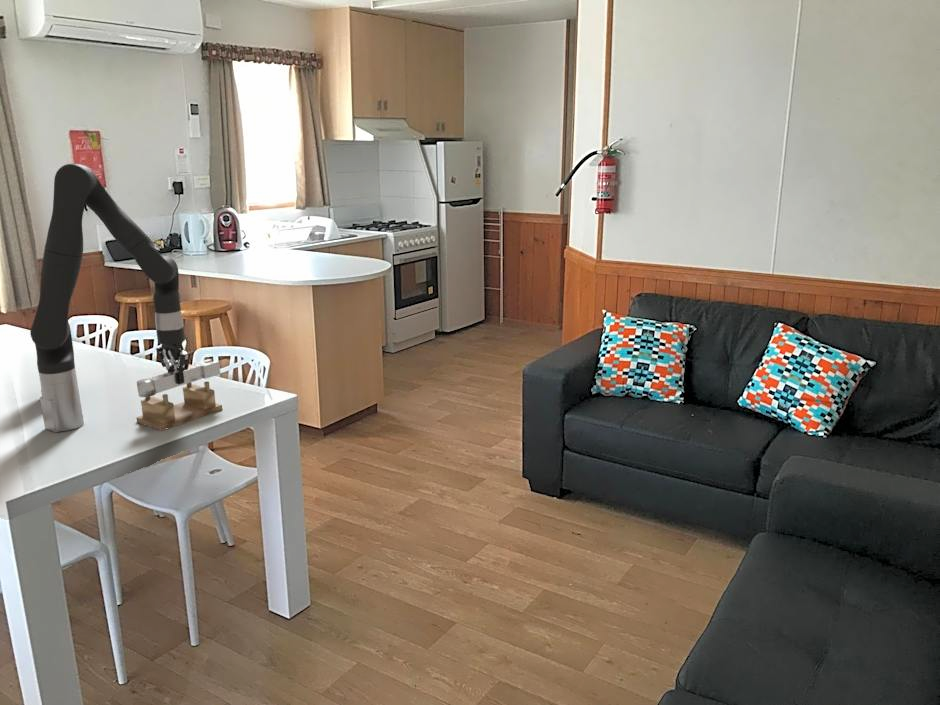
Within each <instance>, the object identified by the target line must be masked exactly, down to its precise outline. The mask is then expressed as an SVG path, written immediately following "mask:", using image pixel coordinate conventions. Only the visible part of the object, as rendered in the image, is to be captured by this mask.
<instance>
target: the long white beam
mask: <svg viewBox="0 0 940 705" xmlns="http://www.w3.org/2000/svg"><path fill="white" fill-rule="evenodd" d="M220 369H221V367H220V361H218V360H214V361H213V360H212V359H210V358H207V359H204V360H201V361H198V362H194V363H193V364H191V365H189V366H188V370H184V371H183V374H184V383H182V384H177V383H176V375H175V371H172V372H168V371H167V372H166V373H162V374H159V375H156V376H152V377H148V378H141V379H139V380H137V381H136V387H137V393H138V397H140V398H145V397H150V398H151V397H154V396H155V395H157V394H159V393H162V392H164V391H169V390H171V389H175V388H178V387H180V386H183V385H184V386H185V385H187V383H190V382H191V383H193V382H195V381H201V380H202V379H205V380H206V379H210V378H212V377H216V376H218V375H221V370H220Z"/></svg>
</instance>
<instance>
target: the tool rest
mask: <svg viewBox="0 0 940 705" xmlns="http://www.w3.org/2000/svg"><path fill="white" fill-rule="evenodd" d="M203 382H204V383H203V385H204V386H201V385H198V384H192V383H193V382H190V383H187V384H186V386H183V387H182V394H183V400H184V401H183V402H180V403H177V404H174V403H173V402H170V401H169V395H168V394H167V393H165V394H162V398H158V397H155V396H150V397H144V399H141V400H140V406H141V411H142V415H139V416H136V417H135V418H136V423H138V422H140V423H139V424H141V423H142V424H141V425H143V424H145V425H144V426H146V425H147V427H149V426H150V427H149V428H152V427H153V428H152V429H154V428H155V429H154V430H157V429H158V431H160V430H162V431H164V429H165V430H167V429H166V428H168V429H171V428H174V427H176V425H177V426H180V425H182V424H185V423H188V422H192V421H194V420H196V419H200V418H203V417H204V416H208V415H211V414H214V413H216V411H217V412H220V411H222V410H223V405H222V404H221V403H220V404H219V403H217V402H216V396H215V395H216V394H215V393H216V392H215V390H214V389H212V388H210V381H203ZM219 410H220V411H219ZM199 417H200V418H199ZM179 424H180V425H179ZM173 426H174V427H173ZM170 427H171V428H170Z"/></svg>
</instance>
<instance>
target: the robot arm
mask: <svg viewBox="0 0 940 705" xmlns="http://www.w3.org/2000/svg"><path fill="white" fill-rule="evenodd" d="M53 181H54V182H53V200H52V203H53V204H52V213H51V218H50V221H49V225H48V226H49V227H48V229H47V230H48V231H47V236H46V240H45V245H44V249H43V250H44V251H43V255H42V256H43V257H42V261H41V262H42V263H41V272H40V273H41V274H40V292H39V300H38V305H37V308H36V312H35V315H34V318H33V322H32V324H31V327H30V333H29V334H30V338H31V340H32V342H33V343H34V345H35V344H36V346H35V351H36V350H37V352H36V359H37V360H36V365H37V371H38V376H39V382H40V390H41V389H42V392H41V396H40V397H39V400H40V407H41V412H42V418H43V423H44V424H43V425H44V428H45V429H46V430H49V431H51V432H53V433H60V432H68V431H71V430H75V429H77V428H80V427H81V426H83V425H84V424H85V421H84V414H83V408H82V403H81V396H80V389H79V384H78V377H77V370H76V365H75V364H76V363H75V352H74V346H73V338H72V330H71V325H70V322H69V311H70V310H69V309H70V303H71V299H72V296H73V293H74V291H75V288H76V285H77V281H78V278H79V275H80V270H81V267H82V266H81V265H82V260H83V253H84V234H83V216H84V211H85V207H86V206H87V207H88V208H89V209H90V210H91V211H92V212H93V213H94V214H95V215H96V216H97V217H98V218H99V220H100V221H101V222H102V223H103V225H104V226H105V227H106V230H108V232H109V233H110V235H111V236H112V237H113V238H114V239H115V241H116V242H117V243H119V245H120V246H121V247H122V248H123V249H124V250H125V251H126V253H128V254H129V255H130V256H131V257H132V258H133V259H134V261H135V262H136V264H137V265H138V266H139V268H140V269H141V270H142V272H143V274H145V276H147V278H149V280H150V281H152V282H153V283H154V291H153V292H154V293H153V298H152V299H153V307H154V308H153V310H154V323H155V330H156V337H157V343H158V344H159V345H161V346H159V347H156V348H155V350H156V353H157V355H158V358H159V361H160V363H161V366H162V368H164V367H165V370H166V371H167V373H168V372H172V371H175V375H176V383H177V384H182V383H184V374H183V371H184V370H188V366H190V361H191V360H190V359H191V353H190V352H187V351H185V349H184V346H183V342H184V341H185V340H186V335H185V327H184V317H183V314H182V308H181V300H180V295H179V293H180V292H179V290H180V289H179V287H180V286H179V285H180V278H179V277H180V275H179V274H180V273H179V267H178V264H177V262H176V260H174V258H172V257H170V256H167V255H161V253H160V252H159V251H158V250H157V249H156V248H155V244H154V242H153V240H152V239H151V238H150V237H149V236H148V235H147V233H146V232H144V230H143V229H141V227H140V226H139V225H138V224H137V223H136V222H135V221H134V220H133V219H132V218H131V217H130V216H129V215H128V214H127V213H126V212H125V211H124V210H123V209H122V208H121V207H120V206H119V204H118V203H117V202H116V201H115V200H114V198H113V197H112V196H111V195H110V194H109V193H108V191H107V190H106V189H105V187H104V186H103V184H102V182H101V181H100V179H99V178H98V177H97V175H96V173H95V172H94V171H93V170H92V168H90V167H88V166H86V165H84V164H80V163H67V164H64V165H62V166H61V167H59V168H58V170H57V171H56V173H55V175H54V180H53ZM42 395H43V396H42Z"/></svg>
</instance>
